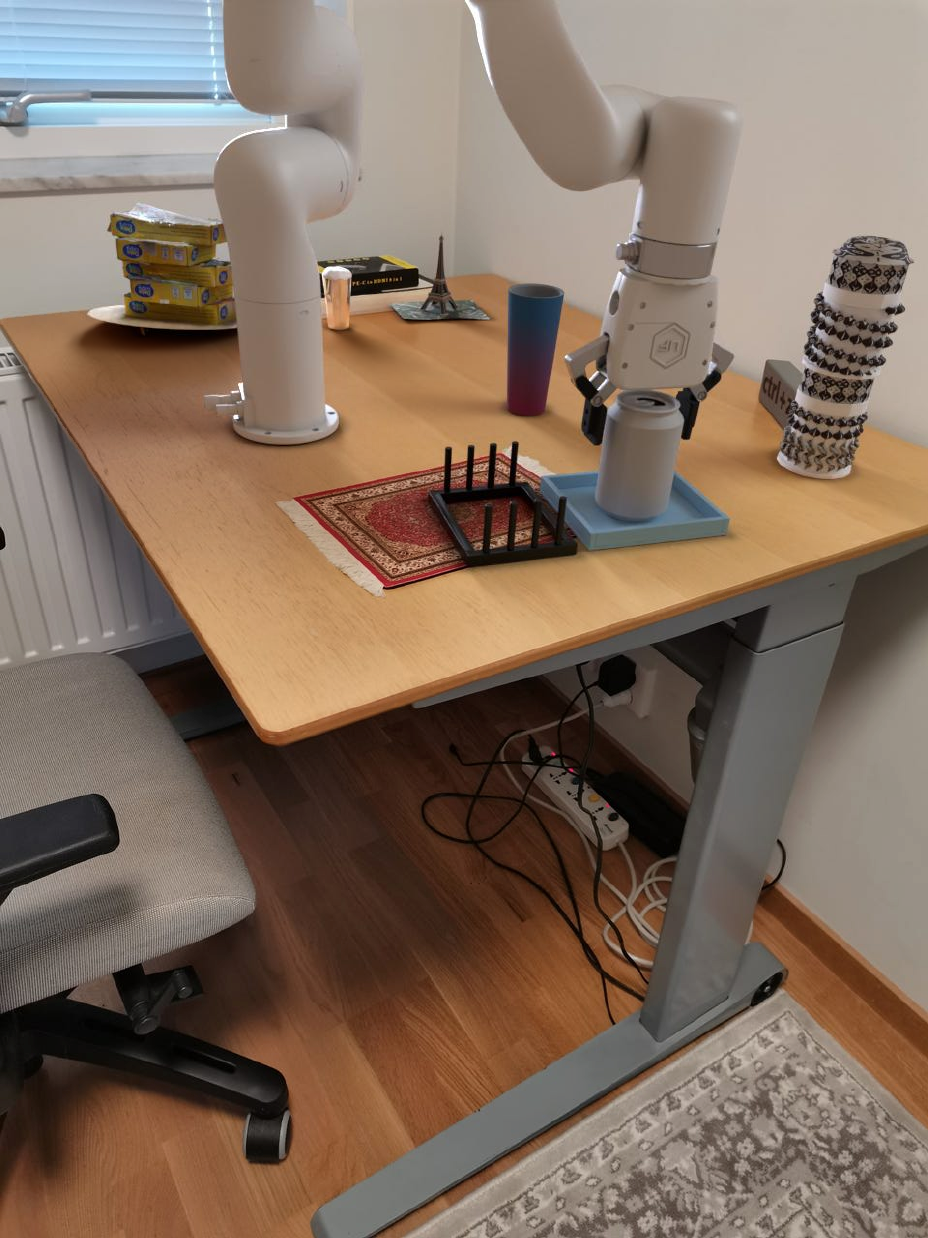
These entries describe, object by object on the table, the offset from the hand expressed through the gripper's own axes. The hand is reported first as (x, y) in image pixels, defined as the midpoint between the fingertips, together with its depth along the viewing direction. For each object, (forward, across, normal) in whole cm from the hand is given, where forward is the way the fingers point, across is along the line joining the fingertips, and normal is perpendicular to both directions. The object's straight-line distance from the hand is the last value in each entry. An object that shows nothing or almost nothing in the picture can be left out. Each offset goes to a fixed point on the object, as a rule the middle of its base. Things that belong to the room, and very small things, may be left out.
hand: (636, 437), depth 90 cm
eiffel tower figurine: (+10, +1, +74) cm, 75 cm away
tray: (+8, +1, -1) cm, 8 cm away
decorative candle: (+8, +28, +6) cm, 30 cm away
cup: (+9, 0, +29) cm, 31 cm away
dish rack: (+8, -14, -1) cm, 16 cm away
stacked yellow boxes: (+10, -42, +71) cm, 83 cm away
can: (+8, 0, 0) cm, 8 cm away
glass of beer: (+10, -17, +68) cm, 71 cm away
